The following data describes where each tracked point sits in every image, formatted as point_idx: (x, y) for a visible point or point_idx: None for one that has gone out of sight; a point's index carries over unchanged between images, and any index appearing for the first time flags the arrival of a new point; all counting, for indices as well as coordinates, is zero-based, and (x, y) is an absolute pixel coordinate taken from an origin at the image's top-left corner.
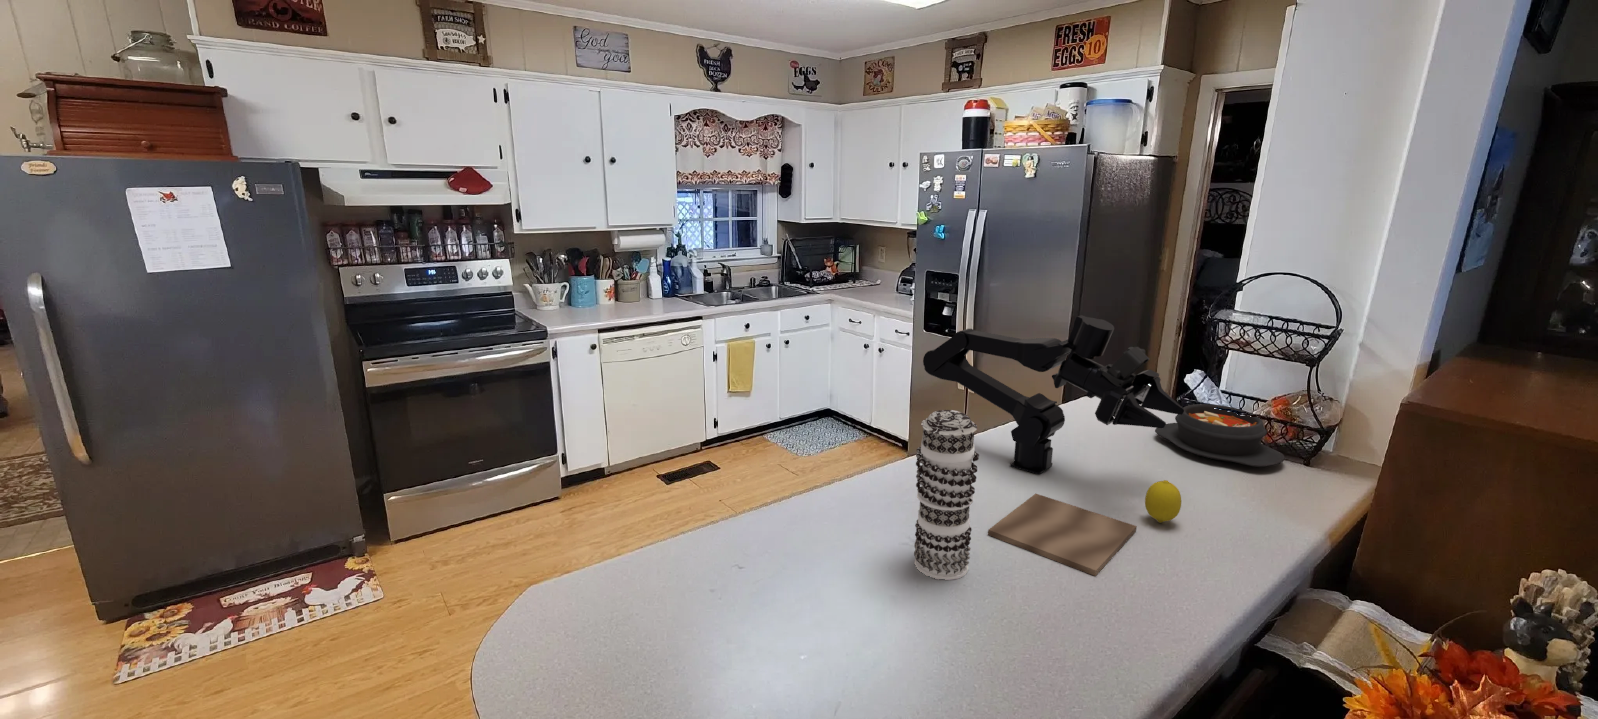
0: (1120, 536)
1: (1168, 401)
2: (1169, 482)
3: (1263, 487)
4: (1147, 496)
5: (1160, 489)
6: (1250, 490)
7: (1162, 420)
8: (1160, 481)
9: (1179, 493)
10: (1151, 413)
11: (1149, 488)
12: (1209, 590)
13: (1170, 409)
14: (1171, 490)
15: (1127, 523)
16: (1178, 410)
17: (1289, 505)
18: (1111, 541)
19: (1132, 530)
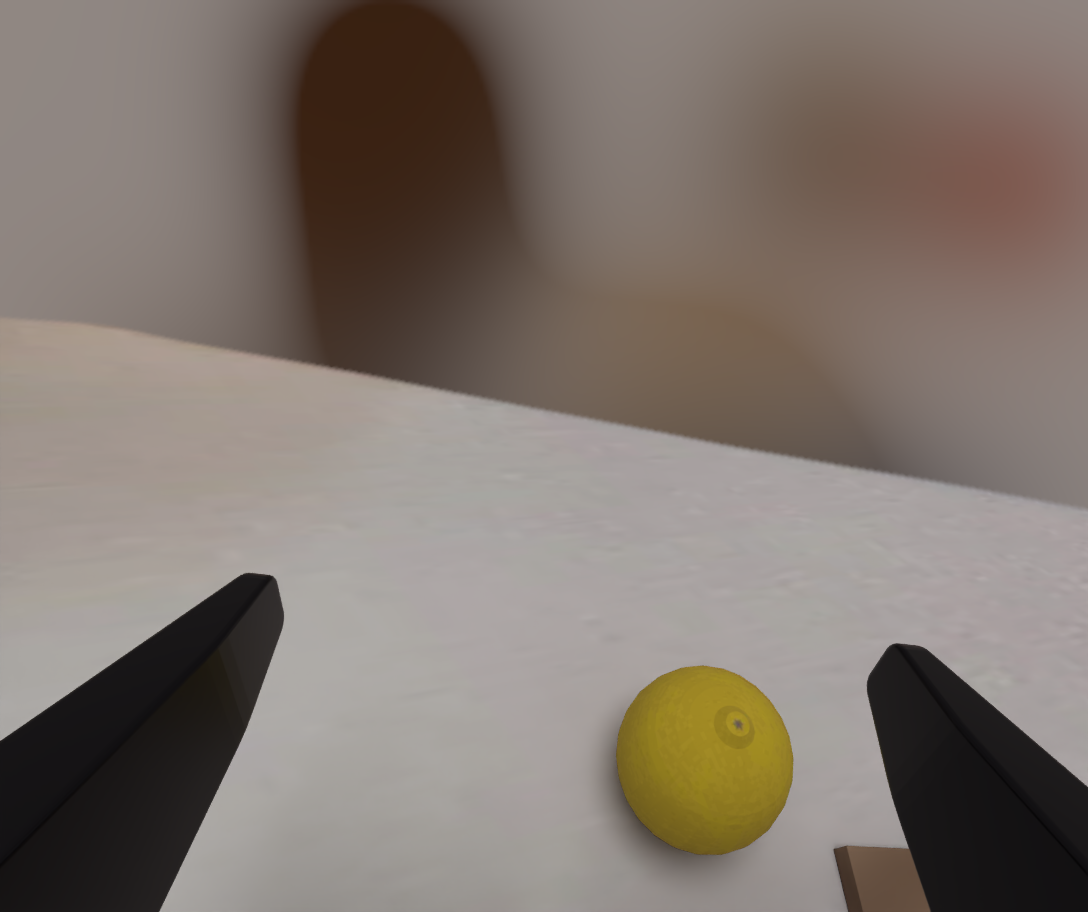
0: None
1: (121, 782)
2: (710, 711)
3: (88, 513)
4: (769, 827)
5: (786, 744)
6: (139, 545)
7: (931, 675)
8: (730, 761)
9: (700, 667)
10: (1075, 826)
11: (758, 823)
12: (949, 552)
13: (210, 755)
14: (752, 691)
15: (863, 896)
16: (252, 644)
17: (236, 444)
18: None
19: (899, 849)
